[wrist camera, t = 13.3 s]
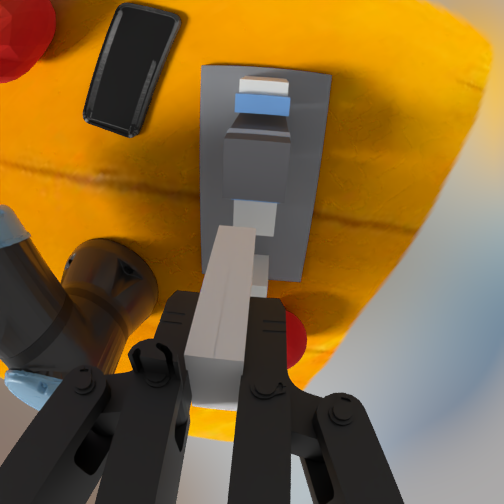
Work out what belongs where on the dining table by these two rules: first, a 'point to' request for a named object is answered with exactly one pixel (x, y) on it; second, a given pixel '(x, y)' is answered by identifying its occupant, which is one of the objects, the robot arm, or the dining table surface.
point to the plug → (256, 158)
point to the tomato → (24, 35)
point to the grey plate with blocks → (299, 170)
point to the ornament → (294, 339)
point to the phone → (129, 68)
